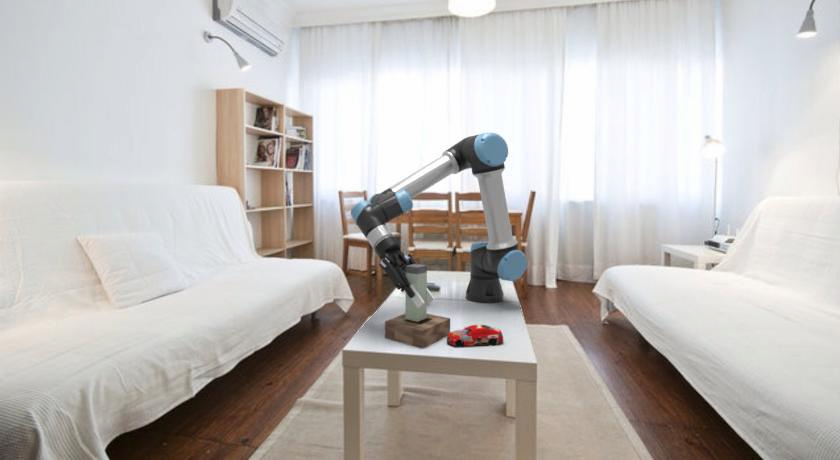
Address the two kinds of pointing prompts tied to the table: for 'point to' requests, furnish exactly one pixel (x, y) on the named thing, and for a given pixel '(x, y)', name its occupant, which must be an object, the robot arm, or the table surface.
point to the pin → (418, 279)
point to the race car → (475, 336)
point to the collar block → (417, 330)
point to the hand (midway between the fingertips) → (426, 303)
